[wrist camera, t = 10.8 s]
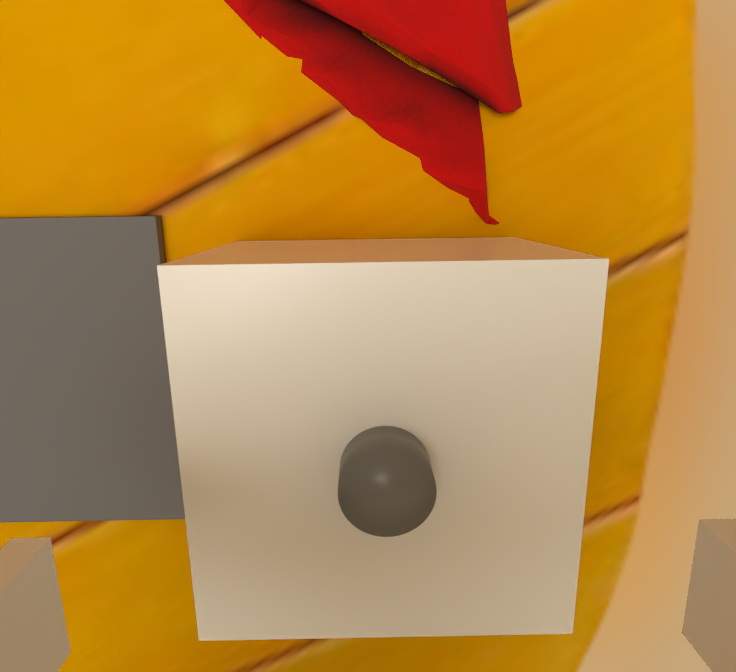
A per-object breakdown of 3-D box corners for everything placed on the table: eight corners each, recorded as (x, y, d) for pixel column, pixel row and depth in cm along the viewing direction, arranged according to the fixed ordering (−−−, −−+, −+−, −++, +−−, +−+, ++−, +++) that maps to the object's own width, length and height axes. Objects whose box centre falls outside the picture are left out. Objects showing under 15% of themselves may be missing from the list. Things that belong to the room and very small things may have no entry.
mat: (192, 511, 26) (188, 518, 25) (-77, 516, 26) (-87, 524, 25) (160, 215, 22) (154, 216, 22) (-151, 220, 22) (-165, 220, 22)
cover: (500, 485, 25) (591, 671, 15) (255, 489, 25) (184, 680, 15) (513, 236, 23) (636, 265, 12) (237, 241, 22) (134, 272, 12)
